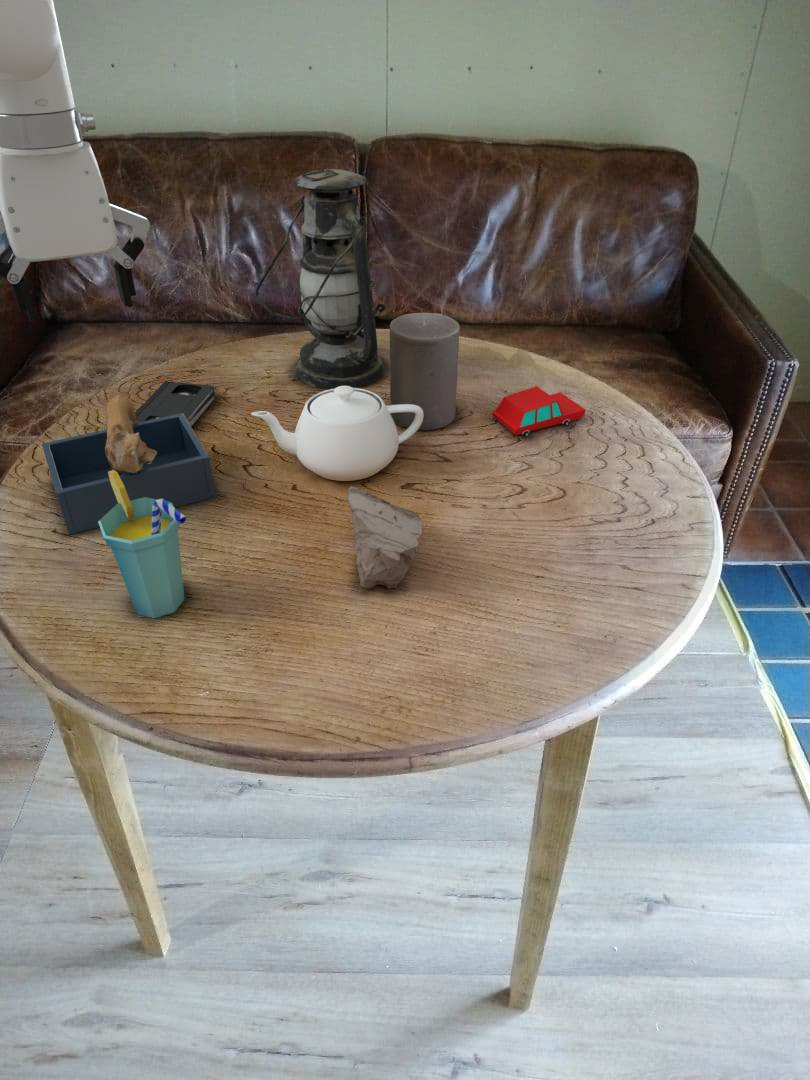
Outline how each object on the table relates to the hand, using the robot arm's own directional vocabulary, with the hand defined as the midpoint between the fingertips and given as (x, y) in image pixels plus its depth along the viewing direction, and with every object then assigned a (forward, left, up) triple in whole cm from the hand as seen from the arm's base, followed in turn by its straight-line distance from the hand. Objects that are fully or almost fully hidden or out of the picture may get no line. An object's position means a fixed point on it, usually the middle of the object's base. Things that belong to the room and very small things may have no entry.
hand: (80, 310), depth 84 cm
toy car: (+57, -6, -24) cm, 62 cm away
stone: (+23, -25, -24) cm, 42 cm away
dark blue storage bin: (+1, +2, -24) cm, 24 cm away
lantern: (+36, +22, -24) cm, 49 cm away
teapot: (+27, -4, -24) cm, 37 cm away
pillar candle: (+43, +3, -24) cm, 50 cm away
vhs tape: (+10, +18, -24) cm, 32 cm away
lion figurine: (+2, +2, -20) cm, 20 cm away
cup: (-1, -22, -24) cm, 33 cm away
